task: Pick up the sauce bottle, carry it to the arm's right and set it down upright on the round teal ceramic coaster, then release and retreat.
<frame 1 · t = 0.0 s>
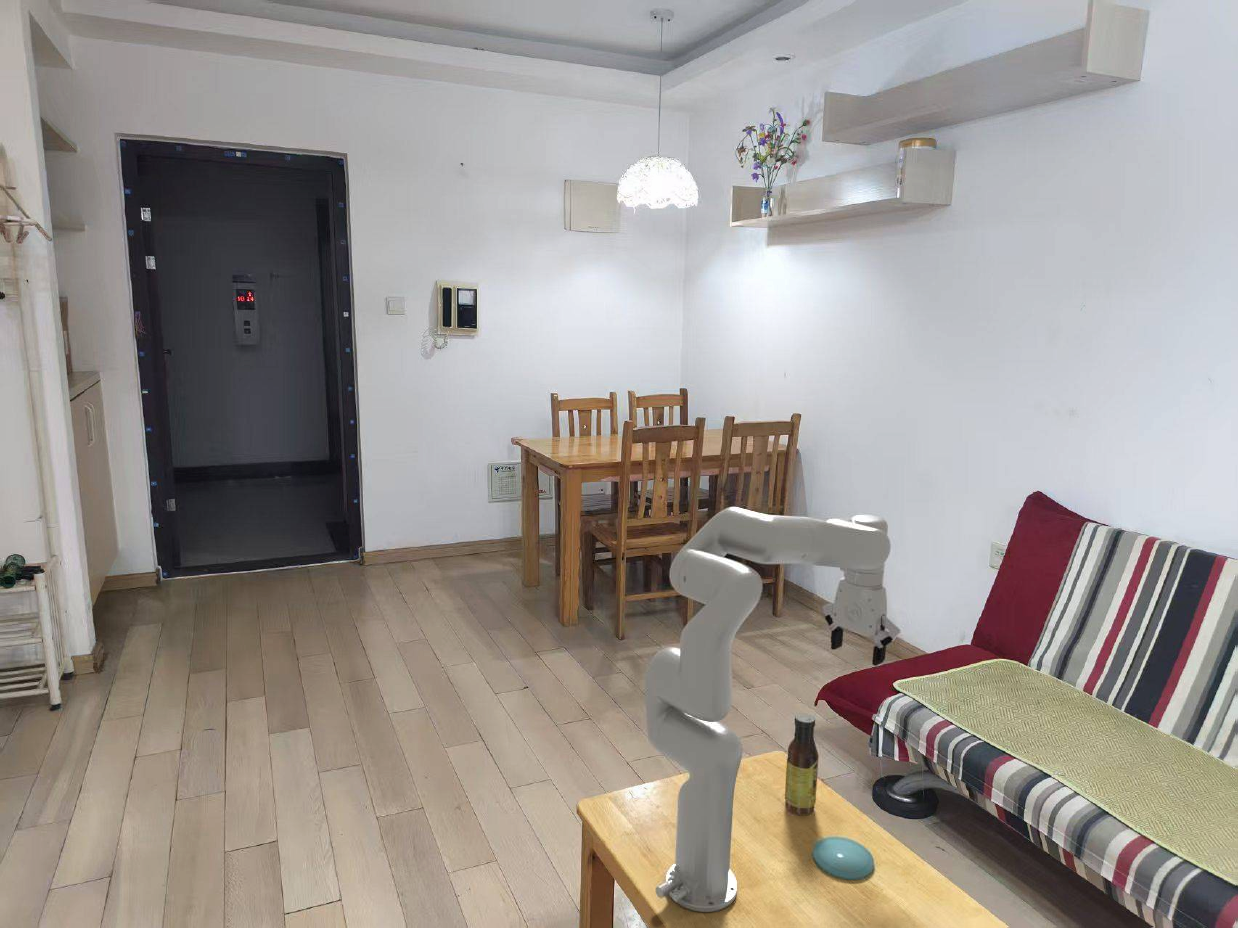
hand: (856, 655, 166), 31 cm above the table, fingers open, 9 cm apart
sauce bottle: (799, 808, 167), on the table
coaster: (842, 859, 151), on the table
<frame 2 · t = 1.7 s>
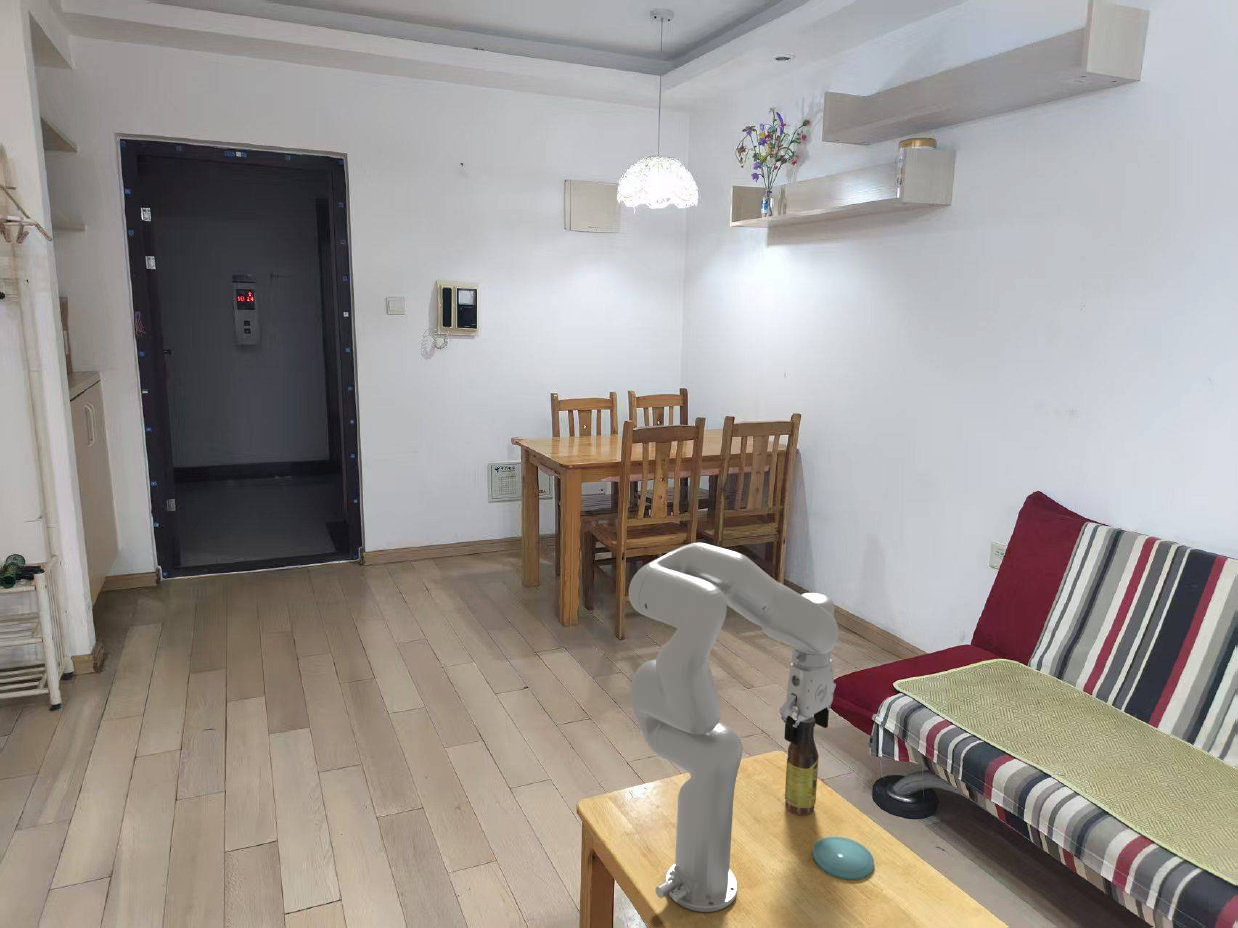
hand: (806, 733, 164), 16 cm above the table, fingers open, 9 cm apart
nothing on the table moved.
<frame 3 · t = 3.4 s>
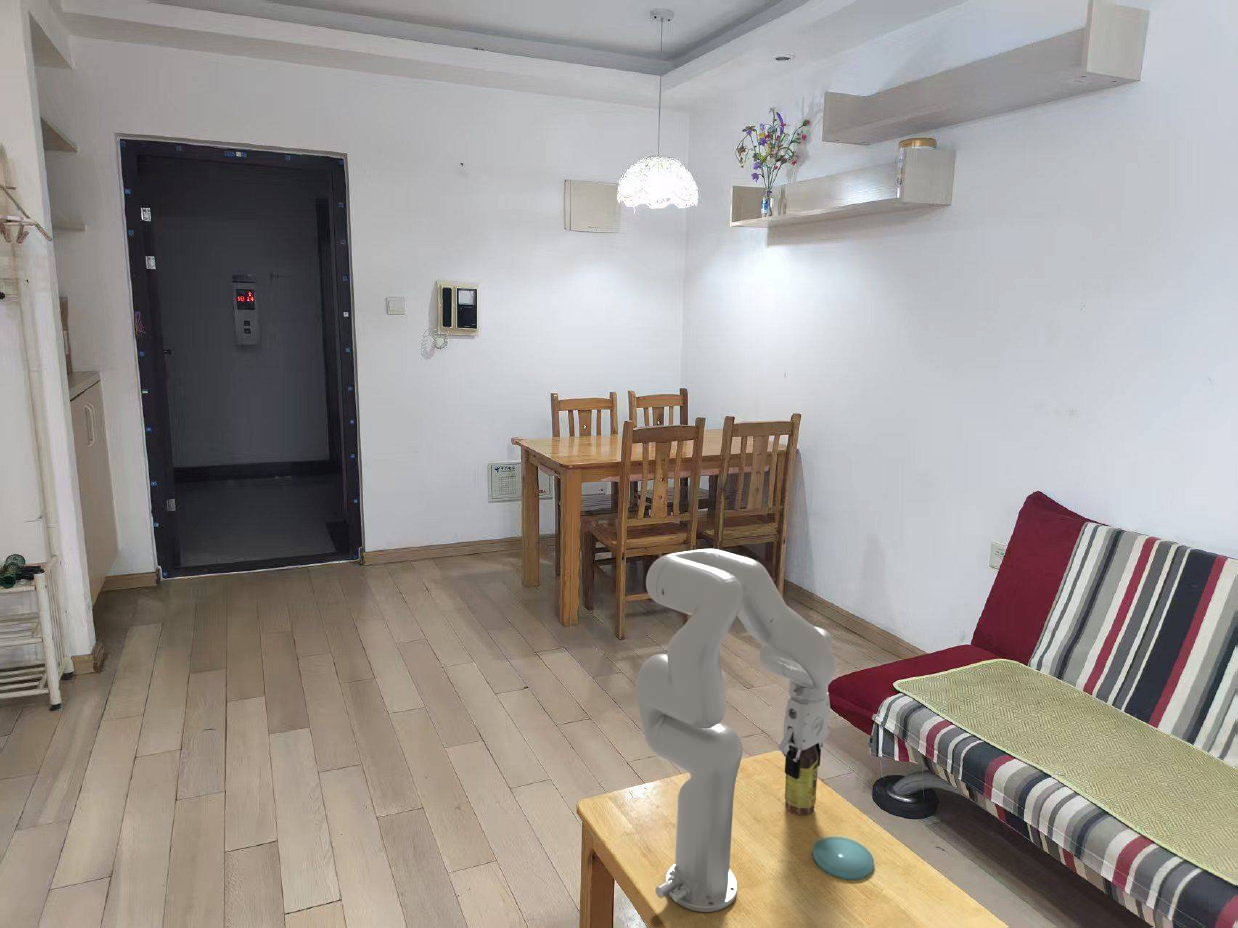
hand: (802, 768, 165), 9 cm above the table, fingers closed on sauce bottle, 6 cm apart
sauce bottle: (799, 808, 167), on the table, touching gripper
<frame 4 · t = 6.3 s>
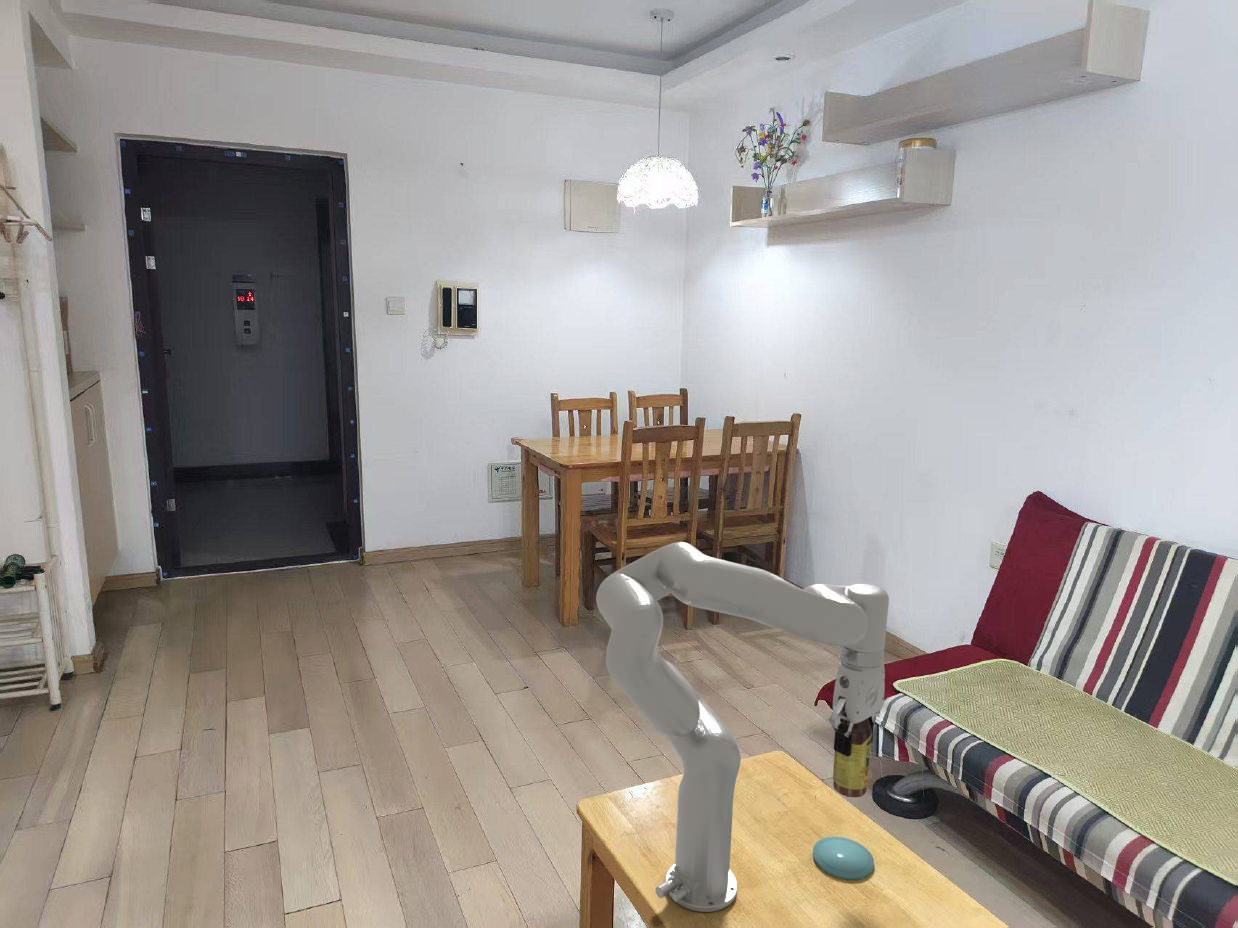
hand: (853, 745, 147), 23 cm above the table, fingers closed on sauce bottle, 6 cm apart
sauce bottle: (849, 789, 148), point 14 cm above the table, touching gripper
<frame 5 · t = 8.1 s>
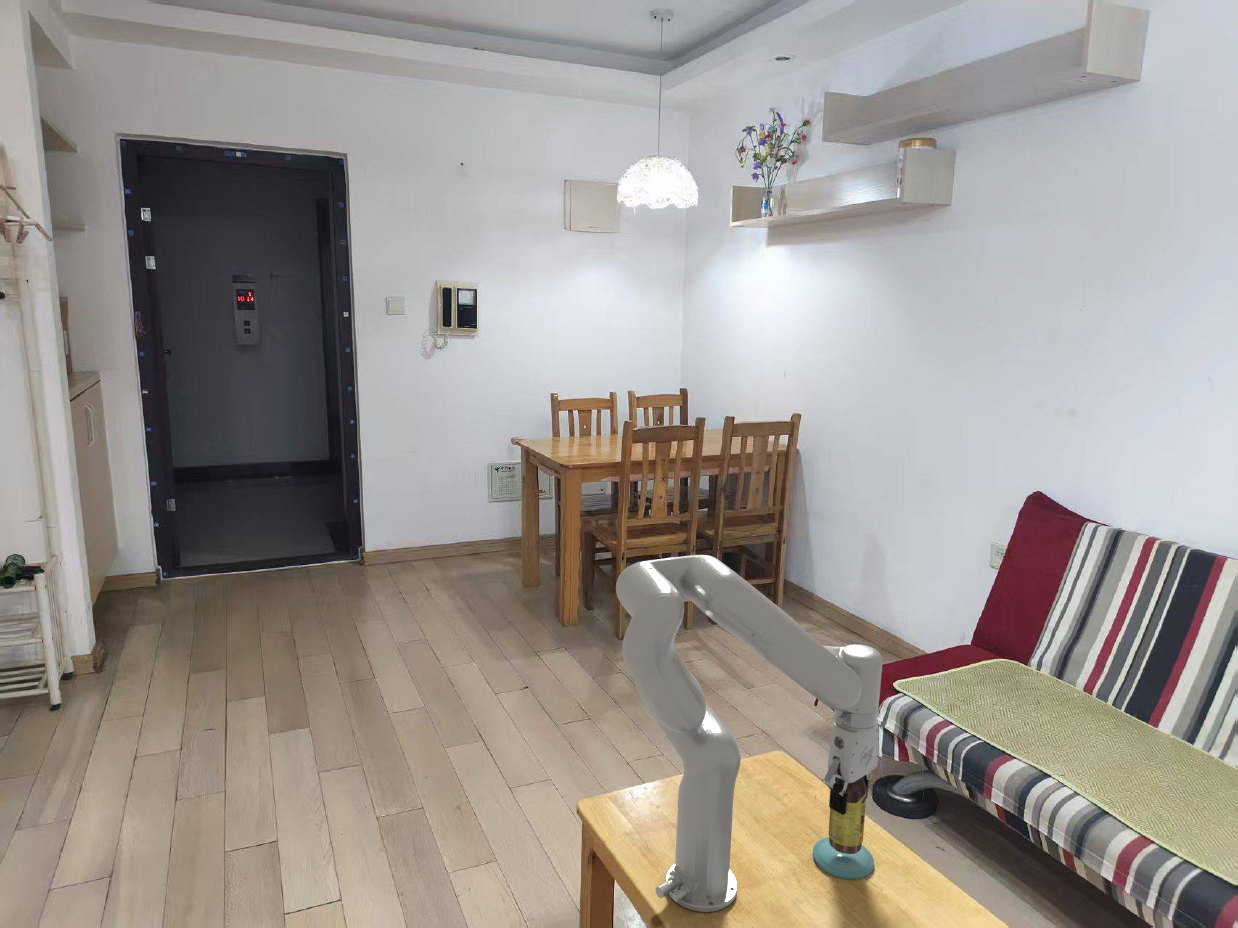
hand: (848, 802, 149), 12 cm above the table, fingers closed on sauce bottle, 6 cm apart
sauce bottle: (844, 845, 150), point 3 cm above the table, touching gripper
when the fingers open (10 cm above the table, at t = 9.4 s): sauce bottle stays where it is, resting on coaster.
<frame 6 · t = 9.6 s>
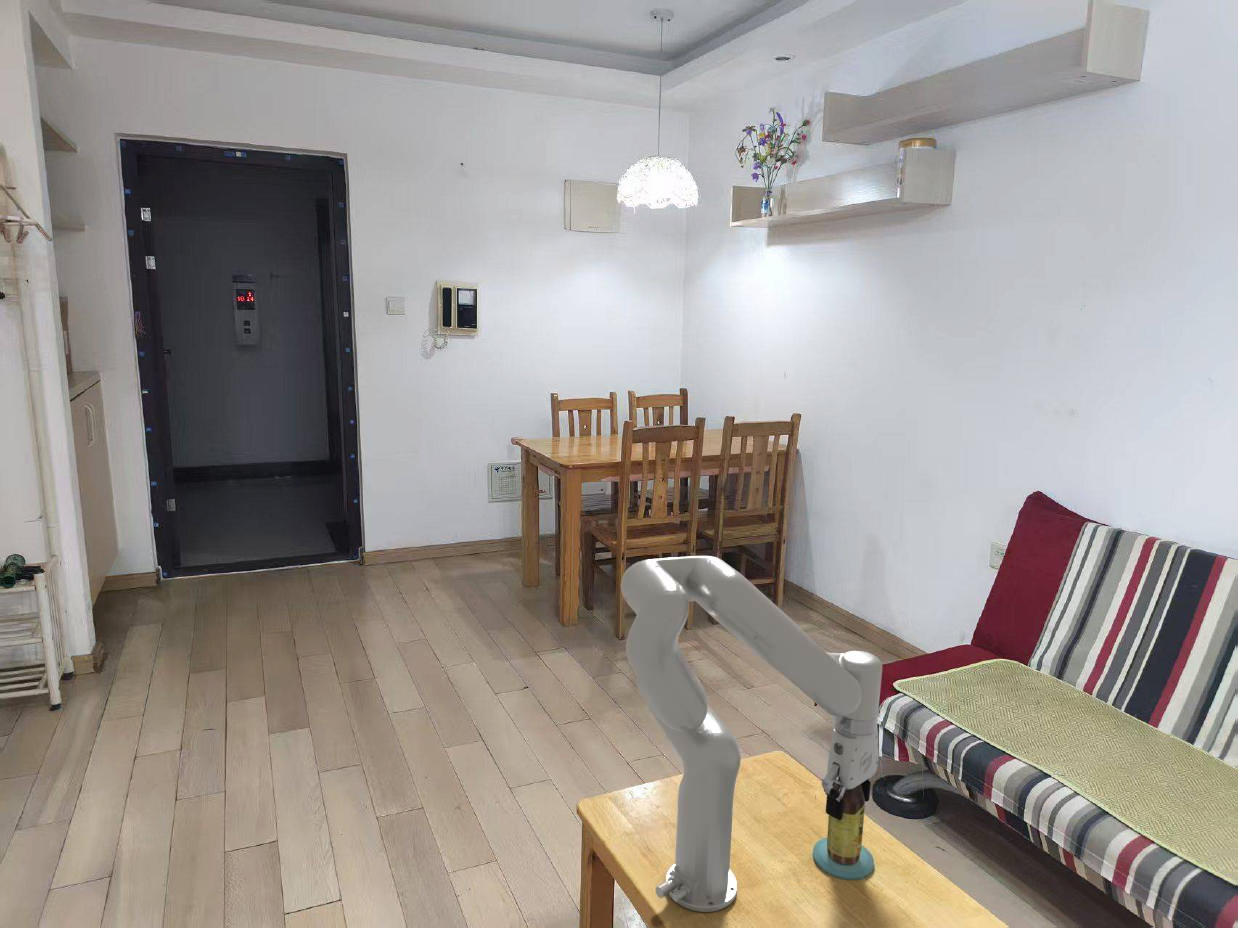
hand: (847, 806, 149), 11 cm above the table, fingers open, 8 cm apart
sauce bottle: (842, 855, 151), point 1 cm above the table, touching coaster
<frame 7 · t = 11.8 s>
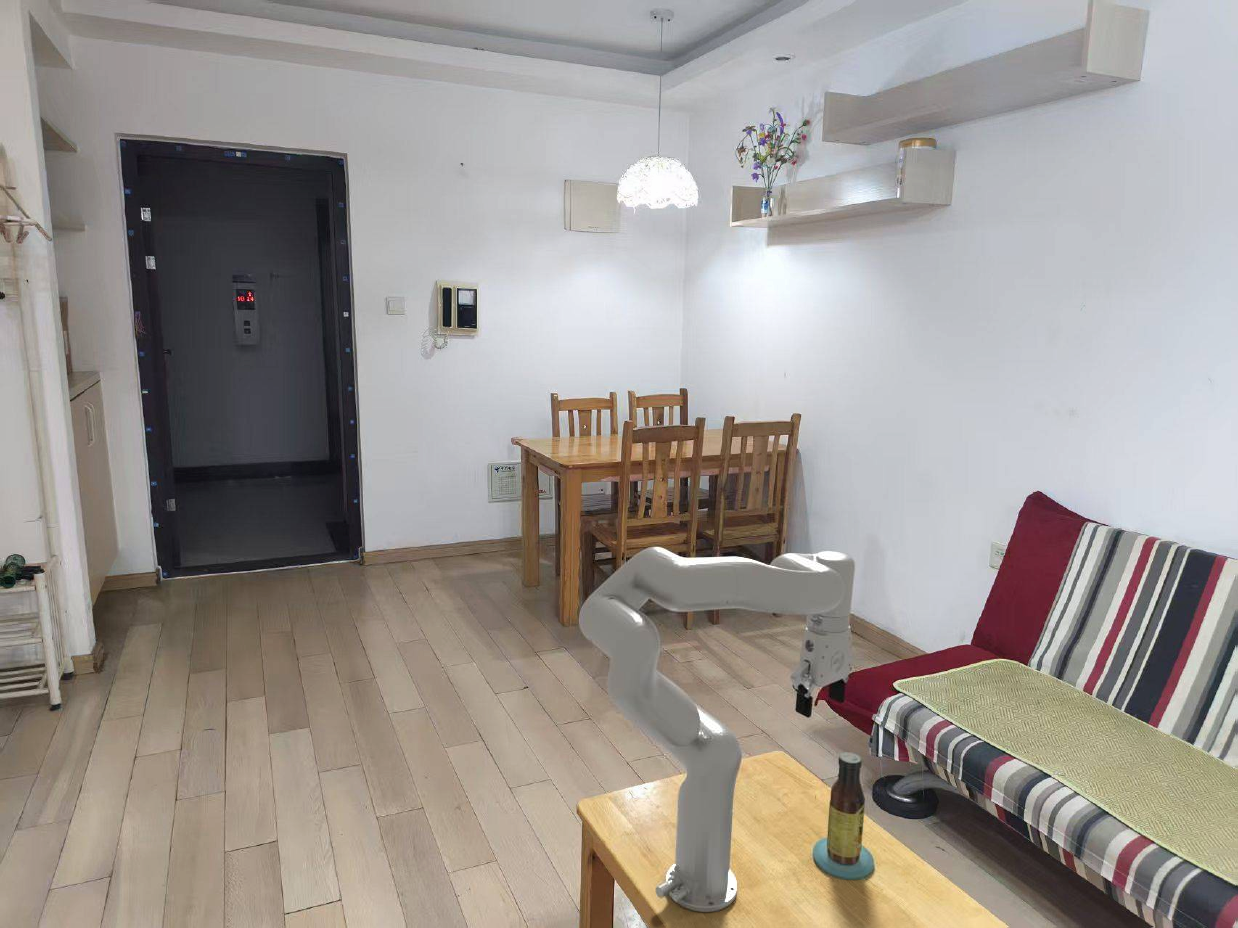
hand: (819, 707, 150), 29 cm above the table, fingers open, 9 cm apart
nothing on the table moved.
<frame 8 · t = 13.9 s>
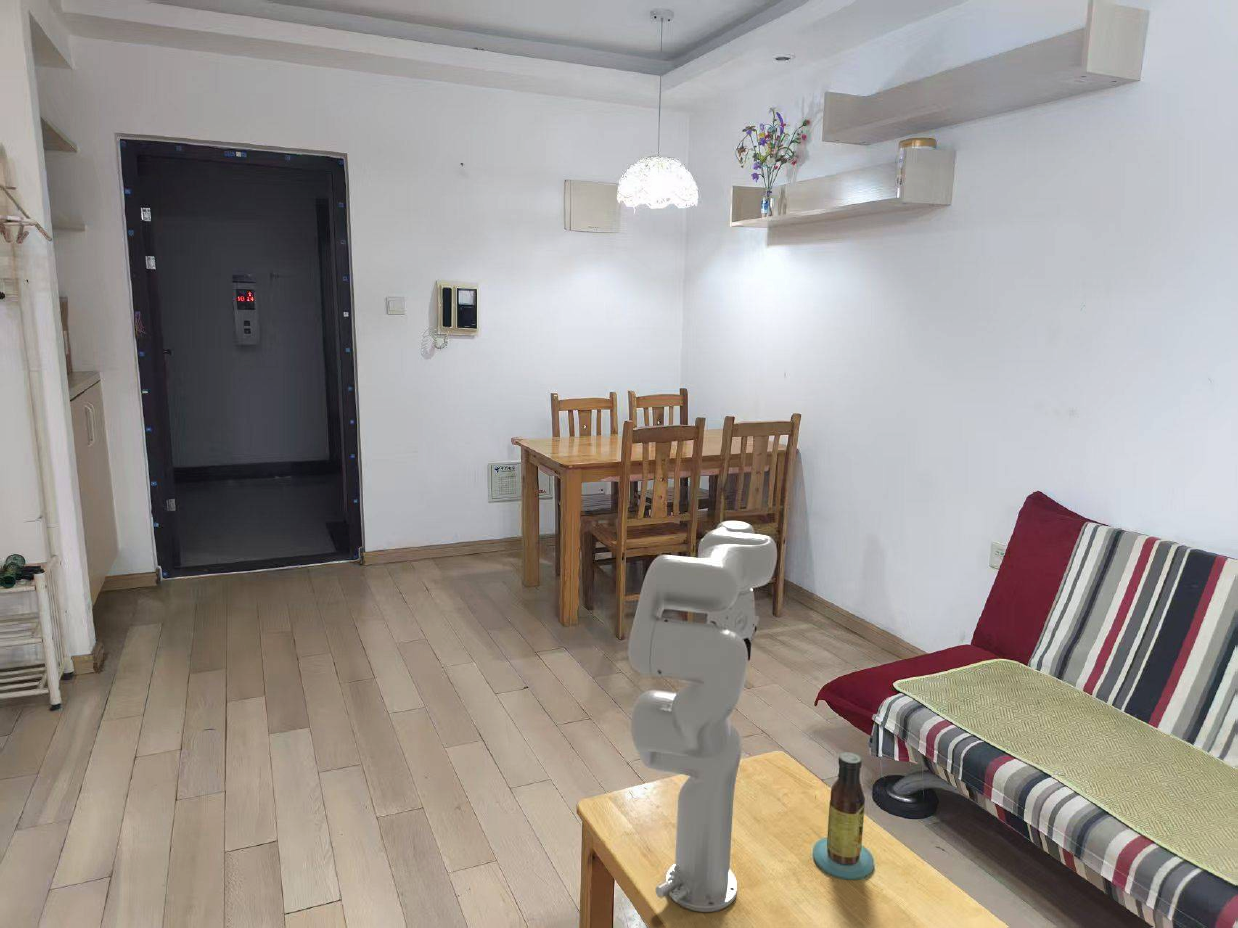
hand: (727, 664, 162), 30 cm above the table, fingers open, 9 cm apart
nothing on the table moved.
at the end: sauce bottle 0.1 cm from the coaster (horizontally); sauce bottle tilted 0°; the gripper is holding nothing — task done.
